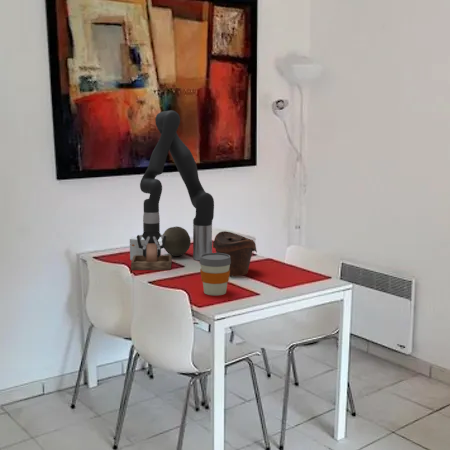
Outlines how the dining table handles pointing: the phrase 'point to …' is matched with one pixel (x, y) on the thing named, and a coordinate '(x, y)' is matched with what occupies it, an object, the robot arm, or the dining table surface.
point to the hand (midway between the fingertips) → (151, 256)
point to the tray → (151, 263)
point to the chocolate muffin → (235, 251)
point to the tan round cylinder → (151, 252)
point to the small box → (135, 247)
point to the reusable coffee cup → (215, 272)
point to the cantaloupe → (176, 241)
